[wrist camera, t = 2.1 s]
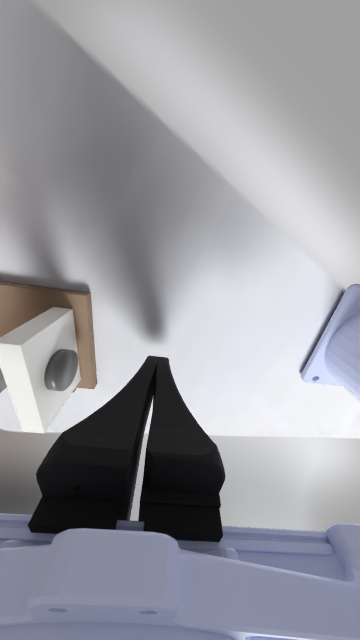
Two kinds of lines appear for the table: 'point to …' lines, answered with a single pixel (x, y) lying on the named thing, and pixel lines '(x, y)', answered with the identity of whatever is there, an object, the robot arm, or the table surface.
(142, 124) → the table surface
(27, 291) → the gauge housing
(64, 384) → the white block with knob
